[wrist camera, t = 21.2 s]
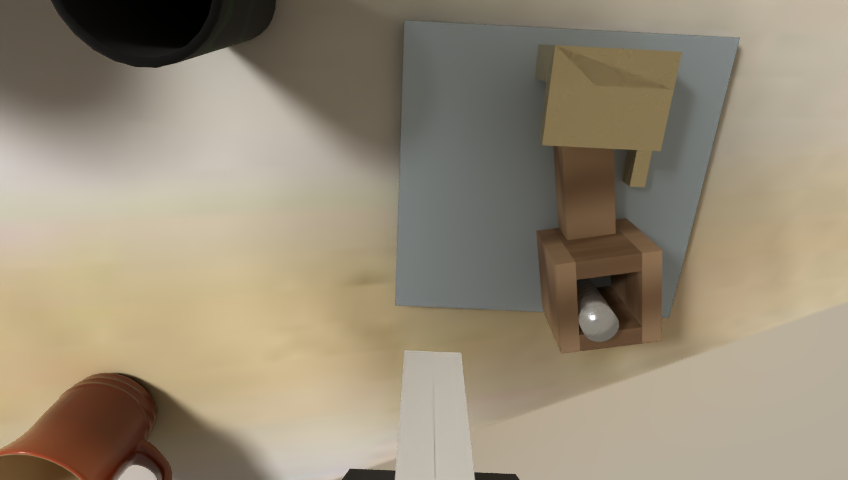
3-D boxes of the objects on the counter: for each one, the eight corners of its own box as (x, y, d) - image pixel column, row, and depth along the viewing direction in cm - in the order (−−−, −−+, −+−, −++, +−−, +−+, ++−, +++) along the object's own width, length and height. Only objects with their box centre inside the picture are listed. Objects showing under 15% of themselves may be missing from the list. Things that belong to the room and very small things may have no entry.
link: (525, 103, 34) (545, 115, 28) (624, 88, 33) (664, 97, 28) (542, 308, 39) (561, 353, 34) (627, 297, 39) (661, 340, 33)
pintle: (558, 263, 38) (586, 309, 31) (588, 264, 38) (621, 311, 31) (554, 290, 39) (580, 340, 32) (583, 291, 39) (615, 342, 32)
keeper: (538, 44, 32) (555, 45, 28) (663, 51, 32) (698, 52, 28) (522, 176, 35) (535, 194, 31) (636, 181, 36) (664, 200, 31)
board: (405, 20, 33) (404, 20, 32) (729, 37, 33) (739, 37, 32) (396, 298, 40) (395, 305, 39) (662, 310, 40) (669, 317, 39)
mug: (55, 418, 45) (-46, 521, 35) (81, 343, 42) (-21, 432, 32) (187, 469, 47) (126, 580, 37) (220, 400, 44) (163, 500, 34)
